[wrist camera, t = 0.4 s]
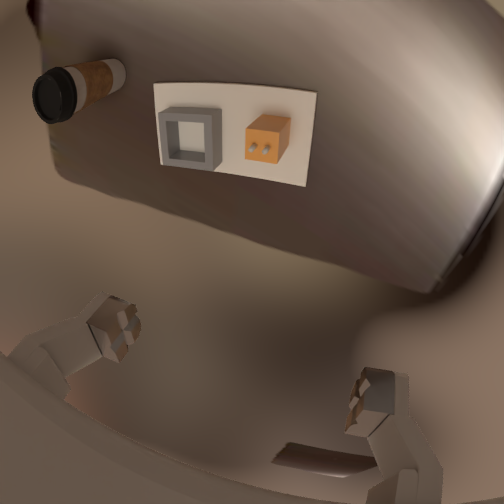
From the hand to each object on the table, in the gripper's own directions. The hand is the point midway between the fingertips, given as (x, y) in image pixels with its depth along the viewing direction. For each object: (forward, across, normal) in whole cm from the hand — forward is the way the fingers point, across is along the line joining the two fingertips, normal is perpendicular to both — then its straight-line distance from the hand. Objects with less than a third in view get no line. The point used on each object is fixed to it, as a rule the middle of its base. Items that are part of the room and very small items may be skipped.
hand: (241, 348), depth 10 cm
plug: (+35, +7, +1) cm, 36 cm away
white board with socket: (+36, +14, +1) cm, 39 cm away
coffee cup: (+36, +35, -8) cm, 51 cm away
